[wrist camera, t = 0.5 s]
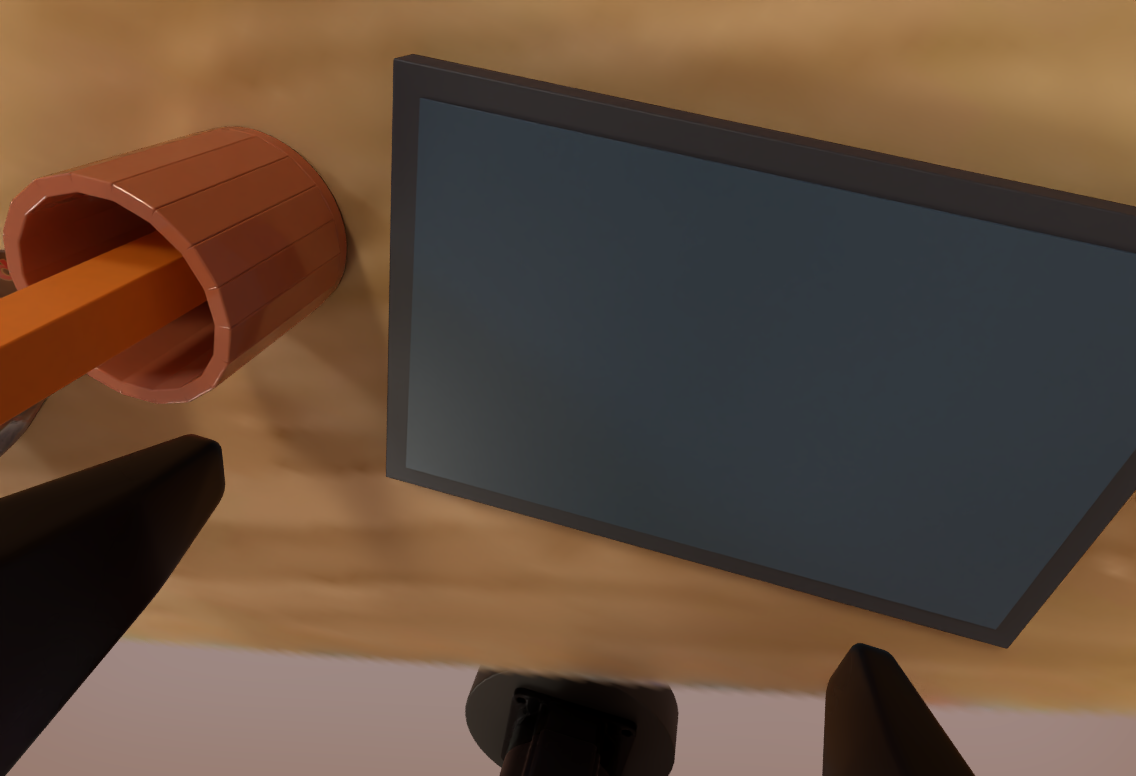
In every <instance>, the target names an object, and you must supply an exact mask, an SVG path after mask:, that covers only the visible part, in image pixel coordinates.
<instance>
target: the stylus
mask: <svg viewBox="0 0 1136 776" xmlns="http://www.w3.org/2000/svg"><path fill="white" fill-rule="evenodd" d="M205 301H207V298H206V295H205V292H204V289H203V287H202V286H201V284H200V283H199V281H198V279H197V278H196V276H195V275H194V273H193V272H192V270H191V268H190V267H189V265H188V264H187V262H186V260H185V259H184V257H183V256H182V254H181V253H180V252H179V251H178V250H177V249H176V248H175V247H174V246H173V245H172V244H171V243H170V242H169V241H168V240H167V239H166V238H165V237H164V236H163V235H162V234H161V233H159V232H158V231H154V232H152V233H150V234H148V235H145V236H143V237H141V238H138V239H136V240H134V241H131V242H129V243H127V244H125V245H122V246H120V247H118V248H115V249H113V250H111V251H108V252H106V253H104V254H102V255H99V256H97V257H95V258H92V259H90V260H88V261H85V262H83V263H81V264H79V265H76V266H74V267H72V268H69V269H67V270H65V271H62V272H60V273H58V274H56V275H53V276H51V277H49V278H46V279H44V280H42V281H39V282H37V283H35V284H32V285H30V286H28V287H26V288H23V289H21V290H19V291H16V292H14V293H12V294H9V295H7V296H5V297H3V298H0V425H2V424H4V423H5V422H7V421H9V420H10V419H12V418H13V417H15V416H17V415H18V414H20V413H22V412H23V411H25V410H27V409H28V408H30V407H32V406H33V405H35V404H37V403H38V402H40V401H42V400H43V399H45V398H47V397H48V396H50V395H51V394H53V393H55V392H56V391H58V390H60V389H61V388H63V387H65V386H66V385H68V384H70V383H71V382H73V381H75V380H76V379H78V378H80V377H81V376H83V375H85V374H86V373H88V372H89V371H91V370H93V369H94V368H96V367H98V366H99V365H101V364H103V363H104V362H106V361H108V360H109V359H111V358H113V357H114V356H116V355H118V354H119V353H121V352H123V351H124V350H126V349H127V348H129V347H131V346H132V345H134V344H136V343H137V342H139V341H141V340H142V339H144V338H146V337H147V336H149V335H151V334H152V333H154V332H156V331H157V330H159V329H161V328H162V327H164V326H165V325H167V324H169V323H170V322H172V321H174V320H175V319H177V318H179V317H180V316H182V315H184V314H185V313H187V312H189V311H190V310H192V309H194V308H195V307H197V306H199V305H200V304H202V303H203V302H205Z"/></svg>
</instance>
